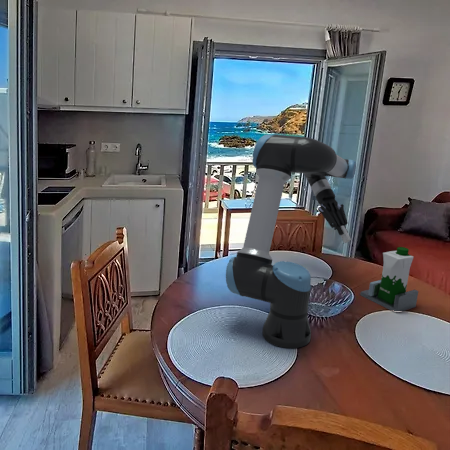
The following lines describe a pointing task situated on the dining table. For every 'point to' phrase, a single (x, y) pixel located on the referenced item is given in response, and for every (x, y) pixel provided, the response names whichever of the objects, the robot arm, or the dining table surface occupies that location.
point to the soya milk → (394, 274)
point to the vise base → (400, 303)
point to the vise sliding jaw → (374, 288)
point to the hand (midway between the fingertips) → (347, 241)
